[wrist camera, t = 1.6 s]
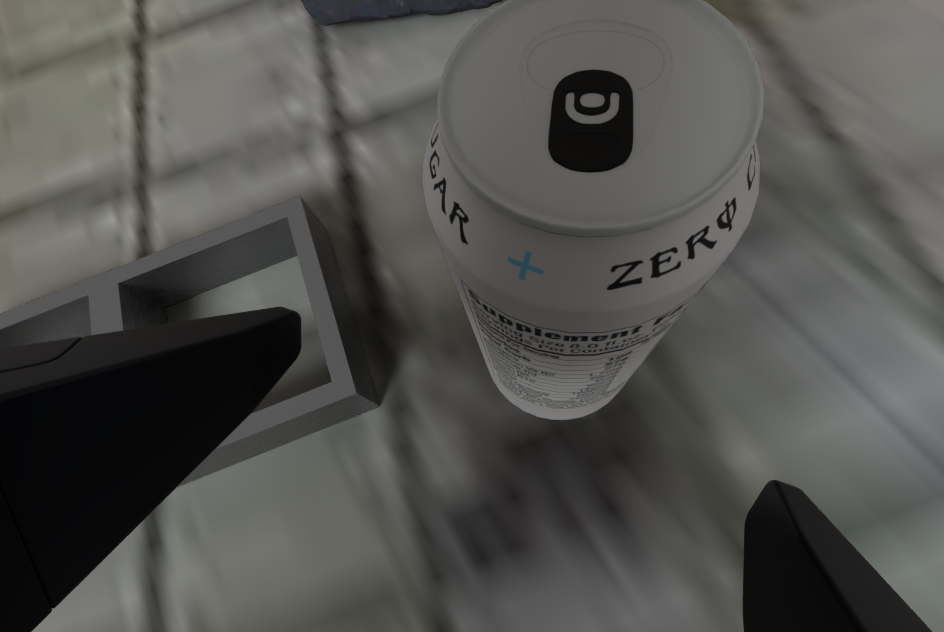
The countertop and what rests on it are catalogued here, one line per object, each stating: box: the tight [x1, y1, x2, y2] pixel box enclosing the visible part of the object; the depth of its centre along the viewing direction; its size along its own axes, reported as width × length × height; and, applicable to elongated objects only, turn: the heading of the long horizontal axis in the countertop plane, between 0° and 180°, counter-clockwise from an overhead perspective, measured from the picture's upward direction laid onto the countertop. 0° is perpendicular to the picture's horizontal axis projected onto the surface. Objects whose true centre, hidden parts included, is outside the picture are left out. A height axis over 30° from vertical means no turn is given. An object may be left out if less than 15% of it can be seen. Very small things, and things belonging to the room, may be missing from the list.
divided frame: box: [0, 196, 380, 487], centre depth 22 cm, size 10×19×3 cm, turn 111°
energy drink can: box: [422, 0, 764, 420], centre depth 14 cm, size 6×6×15 cm
